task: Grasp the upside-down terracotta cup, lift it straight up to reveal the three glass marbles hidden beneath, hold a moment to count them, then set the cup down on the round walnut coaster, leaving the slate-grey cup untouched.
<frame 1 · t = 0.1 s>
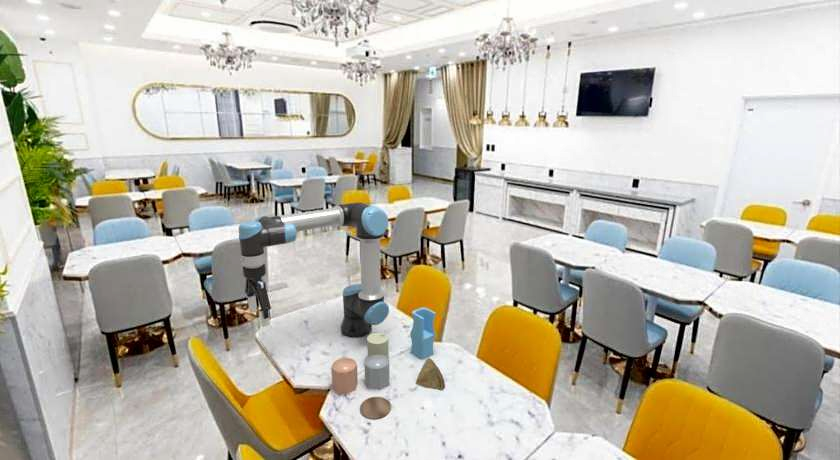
hand: (259, 318, 147), 28 cm above the table, fingers open, 13 cm apart
cup terracotta: (345, 385, 154), on the table
blue notched block: (422, 353, 176), on the table
marble amber: (347, 388, 152), on the table
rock: (430, 385, 155), on the table
can: (378, 362, 169), on the table
coaster: (375, 408, 142), on the table
cup grey: (377, 381, 156), on the table
marble white: (339, 386, 153), on the table
marble teal: (347, 382, 156), on the table
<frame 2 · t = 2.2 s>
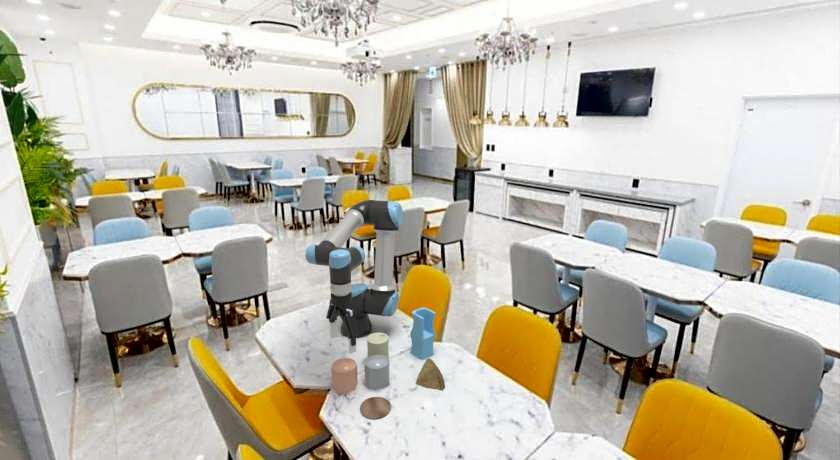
hand: (343, 344, 149), 18 cm above the table, fingers open, 13 cm apart
nothing on the table moved.
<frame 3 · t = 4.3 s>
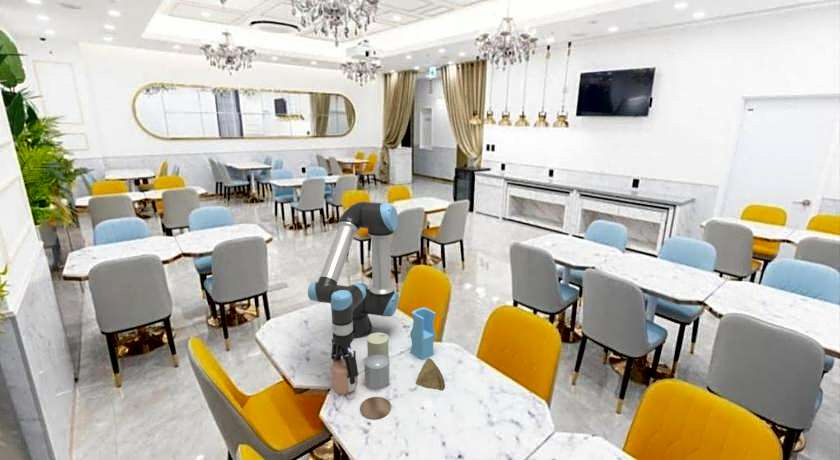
hand: (345, 383, 154), 1 cm above the table, fingers closed on cup terracotta, 9 cm apart
cup terracotta: (345, 385, 154), on the table, touching gripper
everything else where it was.
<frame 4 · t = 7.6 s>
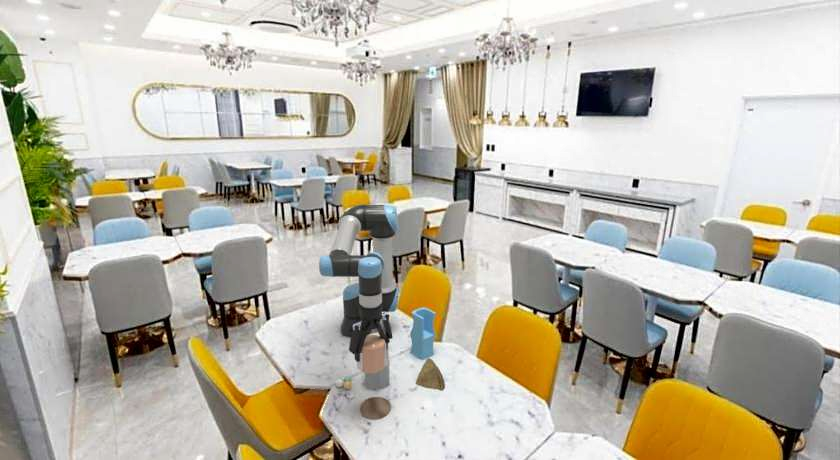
hand: (371, 363, 137), 18 cm above the table, fingers closed on cup terracotta, 9 cm apart
cup terracotta: (371, 365, 138), point 17 cm above the table, touching gripper
everything else where it was.
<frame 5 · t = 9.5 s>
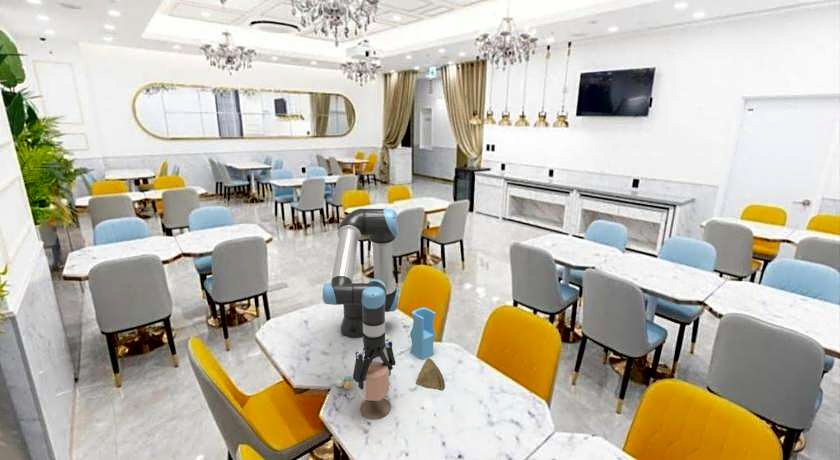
hand: (375, 389, 140), 8 cm above the table, fingers closed on cup terracotta, 9 cm apart
cup terracotta: (375, 392, 140), point 7 cm above the table, touching gripper
everything else where it was.
when the fingers open (3 cm above the table, at t = 11.0 s): cup terracotta drops 1 cm, resting on coaster.
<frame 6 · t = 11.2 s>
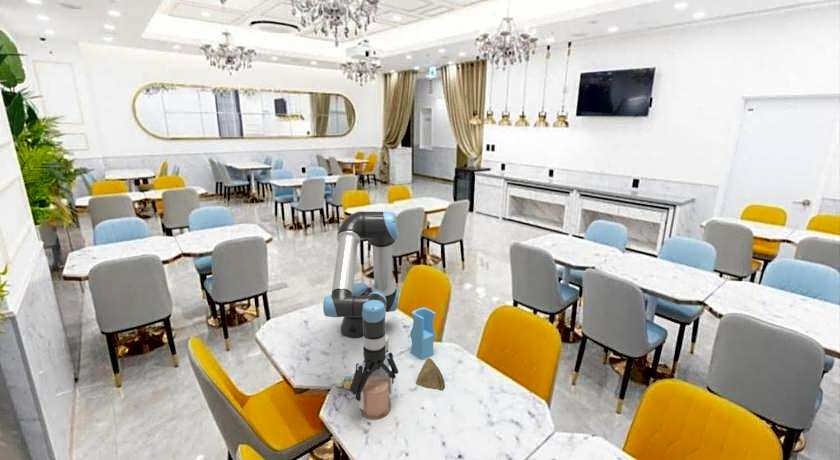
hand: (375, 399, 141), 4 cm above the table, fingers open, 11 cm apart
cup terracotta: (375, 406, 142), point 1 cm above the table, touching coaster
everything else where it was.
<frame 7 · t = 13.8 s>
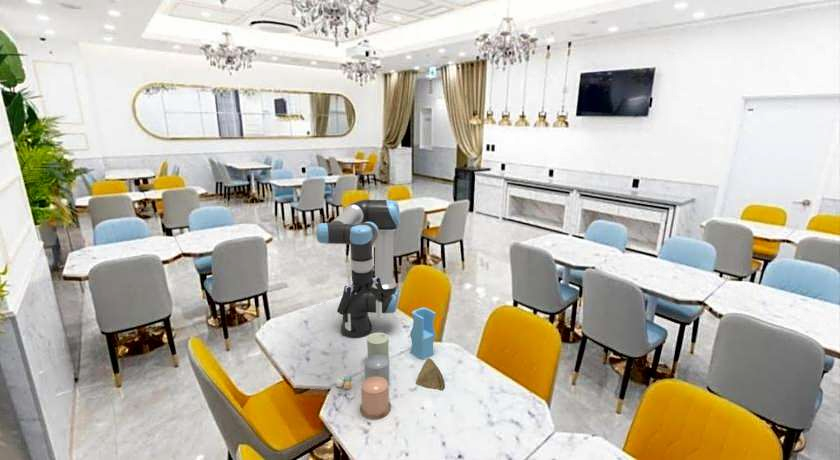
hand: (364, 322, 146), 28 cm above the table, fingers open, 13 cm apart
nothing on the table moved.
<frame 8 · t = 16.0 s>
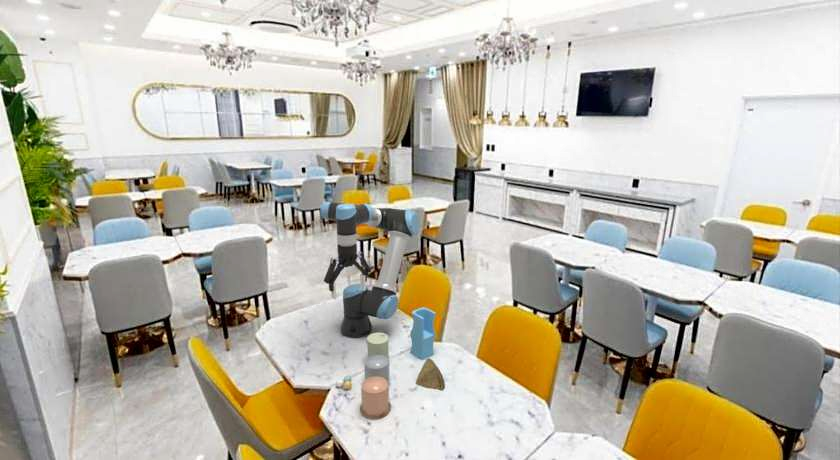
hand: (348, 293, 161), 32 cm above the table, fingers open, 13 cm apart
nothing on the table moved.
at the end: cup terracotta 0.1 cm from the coaster (horizontally); cup terracotta point 0.6 cm above the table; cup terracotta tilted 0° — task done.
